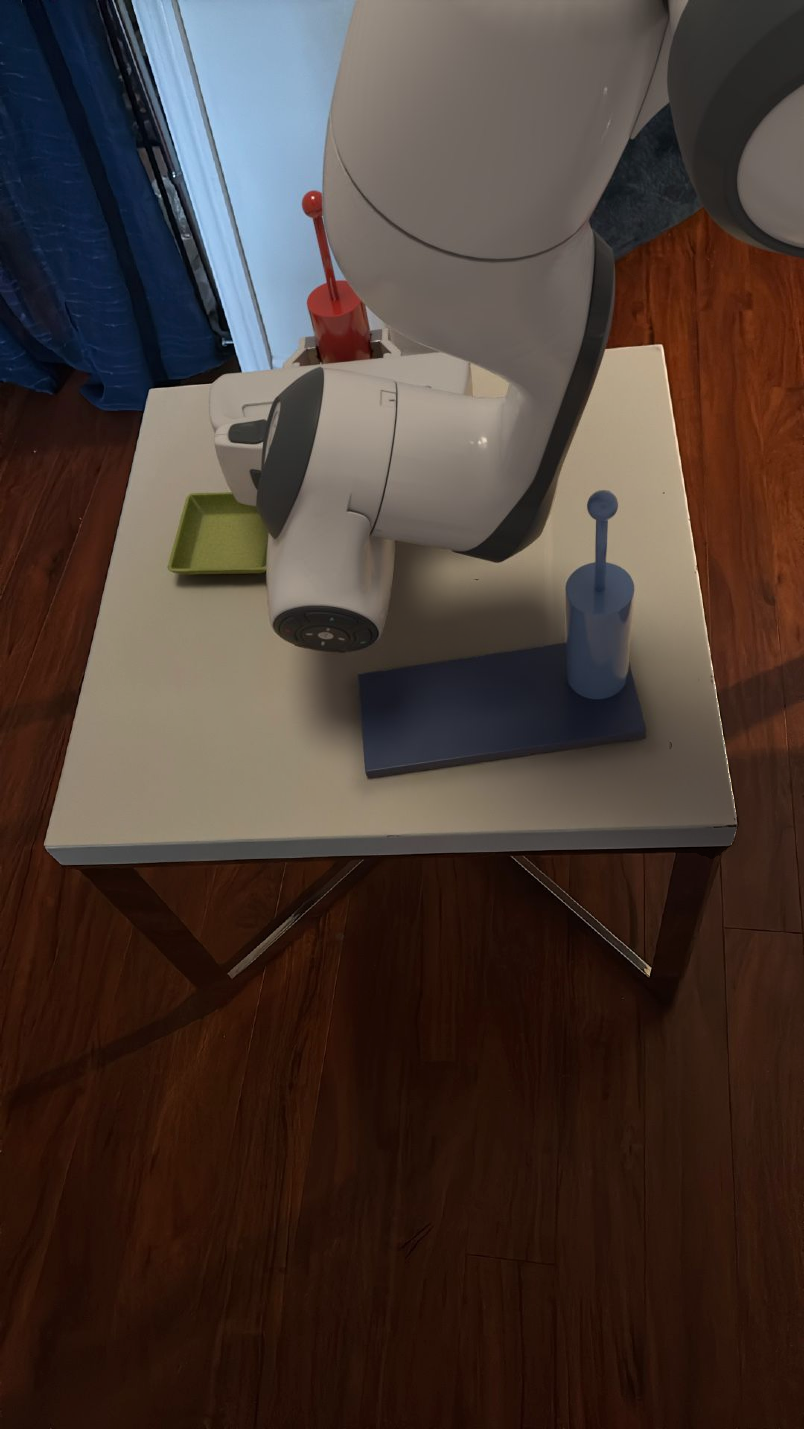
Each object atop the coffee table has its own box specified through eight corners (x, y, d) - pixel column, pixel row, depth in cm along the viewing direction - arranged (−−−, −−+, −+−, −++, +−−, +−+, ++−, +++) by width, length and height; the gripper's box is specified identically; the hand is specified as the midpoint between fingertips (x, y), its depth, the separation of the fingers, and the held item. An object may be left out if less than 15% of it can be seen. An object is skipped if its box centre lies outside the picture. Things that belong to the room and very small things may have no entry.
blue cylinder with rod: (621, 645, 77) (633, 461, 61) (633, 694, 74) (649, 516, 59) (561, 654, 77) (558, 474, 61) (572, 704, 75) (571, 528, 59)
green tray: (273, 585, 86) (267, 569, 84) (173, 586, 87) (165, 570, 86) (289, 507, 90) (284, 489, 89) (194, 509, 92) (187, 492, 90)
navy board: (621, 641, 78) (622, 633, 77) (646, 738, 73) (646, 730, 73) (359, 681, 79) (357, 673, 79) (367, 778, 75) (365, 771, 74)
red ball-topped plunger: (380, 379, 89) (341, 169, 73) (384, 413, 87) (344, 204, 71) (330, 387, 89) (280, 180, 74) (332, 422, 87) (281, 216, 71)
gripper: (475, 415, 72) (471, 291, 80) (191, 442, 75) (213, 319, 82) (481, 480, 78) (477, 358, 85) (216, 504, 80) (234, 383, 88)
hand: (345, 339), depth 84 cm, fingers closed on red ball-topped plunger, 4 cm apart
